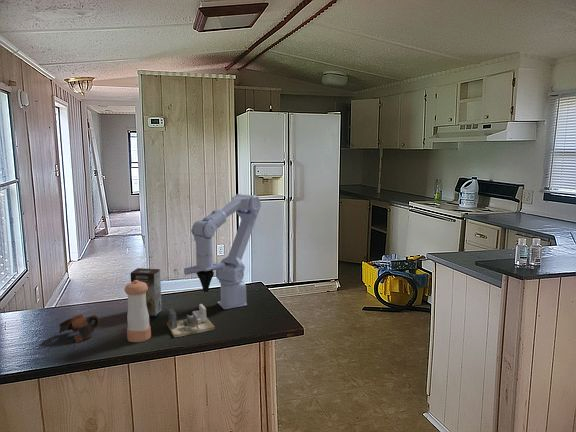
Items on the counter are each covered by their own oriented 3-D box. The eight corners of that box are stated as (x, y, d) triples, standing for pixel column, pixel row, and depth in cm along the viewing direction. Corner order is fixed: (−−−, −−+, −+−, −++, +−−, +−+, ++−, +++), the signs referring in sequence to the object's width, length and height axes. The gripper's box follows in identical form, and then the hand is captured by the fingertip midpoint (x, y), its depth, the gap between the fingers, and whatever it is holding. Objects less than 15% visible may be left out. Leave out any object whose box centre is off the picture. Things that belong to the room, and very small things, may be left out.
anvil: (173, 322, 150) (172, 308, 149) (176, 327, 145) (176, 313, 145) (168, 322, 150) (168, 309, 149) (172, 328, 145) (171, 314, 144)
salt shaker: (128, 334, 143) (124, 277, 140) (151, 331, 145) (148, 276, 142) (126, 343, 136) (122, 284, 133) (150, 340, 138) (147, 282, 135)
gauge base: (205, 318, 156) (205, 314, 156) (214, 329, 146) (214, 325, 146) (167, 325, 150) (166, 321, 150) (174, 337, 140) (174, 333, 140)
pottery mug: (67, 348, 134) (56, 324, 135) (66, 350, 142) (56, 327, 143) (106, 329, 141) (95, 306, 142) (103, 331, 149) (92, 310, 150)
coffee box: (131, 315, 159) (128, 272, 157) (139, 308, 165) (136, 267, 163) (155, 316, 158) (153, 273, 156) (162, 309, 165) (160, 268, 162)
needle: (186, 324, 146) (186, 319, 146) (190, 328, 143) (189, 323, 143) (183, 324, 146) (183, 320, 146) (186, 329, 142) (186, 324, 142)
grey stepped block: (202, 316, 154) (201, 303, 154) (208, 323, 148) (207, 310, 147) (185, 319, 152) (185, 306, 151) (190, 326, 145) (190, 313, 145)
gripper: (187, 259, 148) (188, 297, 150) (227, 254, 154) (228, 290, 157) (181, 254, 154) (183, 291, 156) (220, 250, 161) (221, 285, 163)
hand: (205, 291), depth 157 cm, fingers closed
